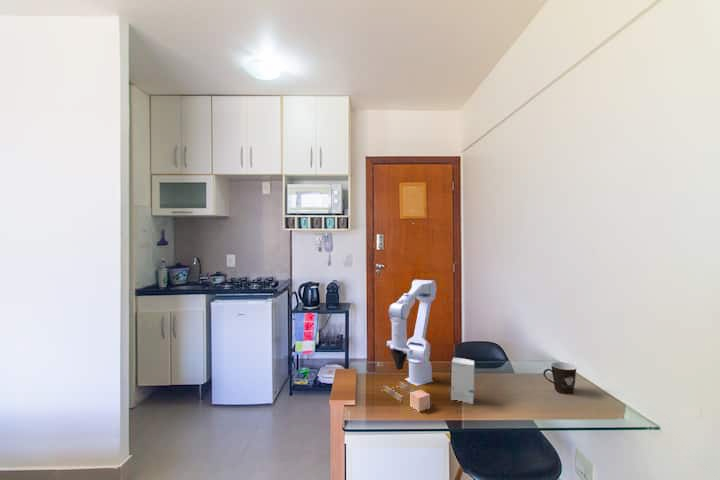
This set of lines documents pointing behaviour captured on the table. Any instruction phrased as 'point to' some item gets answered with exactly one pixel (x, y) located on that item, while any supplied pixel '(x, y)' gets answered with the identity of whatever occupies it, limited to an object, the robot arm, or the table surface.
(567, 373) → the coffee mug
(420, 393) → the block
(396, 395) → the chute
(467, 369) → the skincare box
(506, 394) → the table surface
